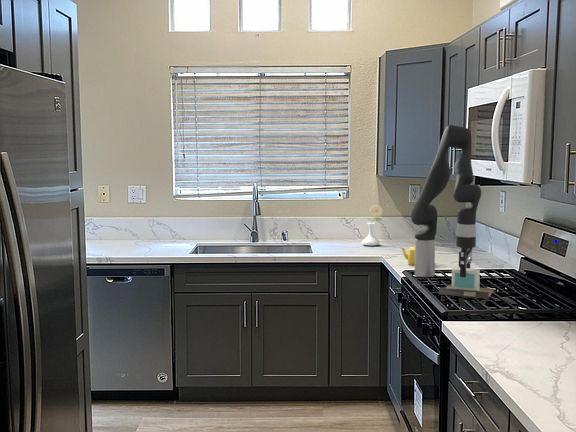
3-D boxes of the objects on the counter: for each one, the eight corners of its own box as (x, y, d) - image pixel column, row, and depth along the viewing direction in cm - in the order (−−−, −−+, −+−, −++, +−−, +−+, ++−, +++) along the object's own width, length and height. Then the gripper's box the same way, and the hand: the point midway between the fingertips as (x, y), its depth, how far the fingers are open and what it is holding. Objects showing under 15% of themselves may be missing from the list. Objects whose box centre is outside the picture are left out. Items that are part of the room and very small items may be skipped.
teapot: (417, 267, 311) (418, 248, 310) (397, 263, 322) (398, 245, 321) (438, 264, 319) (438, 245, 318) (417, 260, 330) (418, 242, 329)
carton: (454, 291, 253) (454, 267, 252) (479, 293, 249) (479, 269, 248) (451, 294, 249) (451, 269, 248) (477, 296, 244) (477, 271, 243)
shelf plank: (448, 288, 265) (448, 279, 265) (495, 292, 257) (495, 282, 256) (438, 297, 249) (439, 288, 249) (488, 302, 241) (488, 292, 240)
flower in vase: (360, 246, 377) (360, 205, 374) (363, 243, 388) (363, 203, 385) (381, 247, 373) (381, 205, 370) (384, 244, 384) (384, 204, 381)
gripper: (472, 238, 238) (471, 279, 240) (479, 232, 251) (477, 272, 253) (452, 236, 242) (451, 277, 244) (460, 231, 254) (459, 270, 256)
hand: (465, 274), depth 248 cm, fingers open, 8 cm apart
